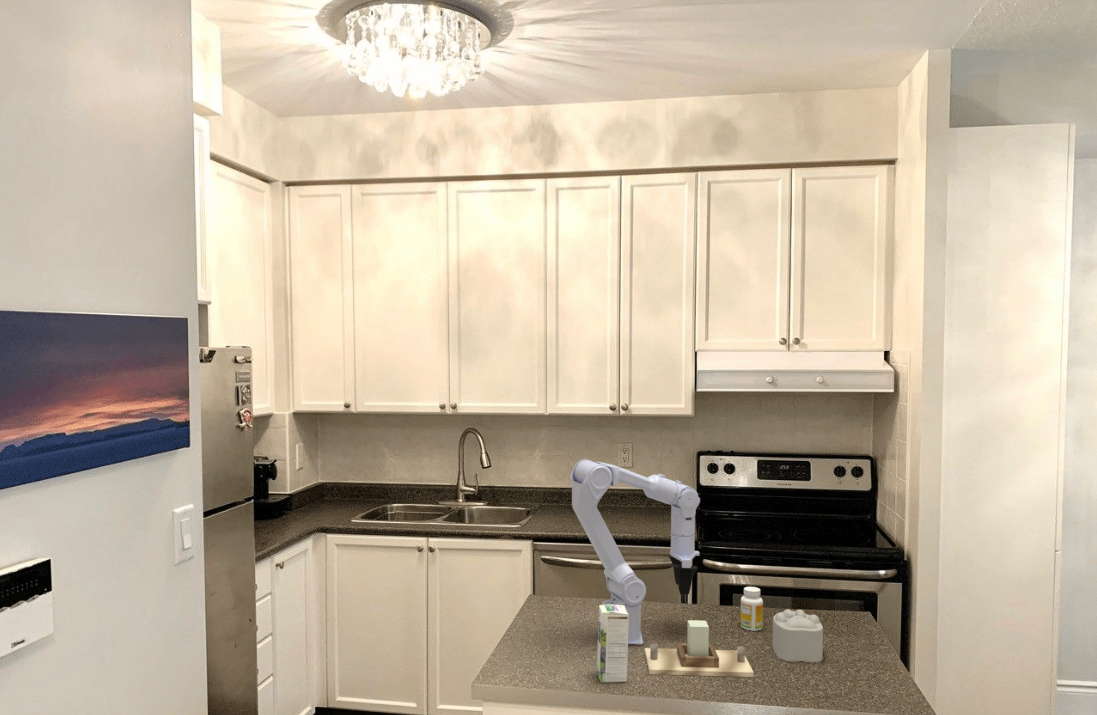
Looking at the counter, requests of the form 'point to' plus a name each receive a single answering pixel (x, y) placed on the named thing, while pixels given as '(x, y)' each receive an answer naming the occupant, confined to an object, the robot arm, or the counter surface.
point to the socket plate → (698, 662)
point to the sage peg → (697, 638)
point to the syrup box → (612, 643)
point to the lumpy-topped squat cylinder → (797, 636)
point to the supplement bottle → (751, 609)
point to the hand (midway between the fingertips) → (682, 589)
